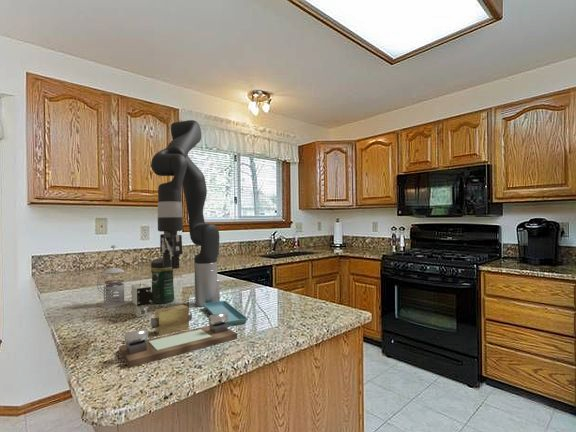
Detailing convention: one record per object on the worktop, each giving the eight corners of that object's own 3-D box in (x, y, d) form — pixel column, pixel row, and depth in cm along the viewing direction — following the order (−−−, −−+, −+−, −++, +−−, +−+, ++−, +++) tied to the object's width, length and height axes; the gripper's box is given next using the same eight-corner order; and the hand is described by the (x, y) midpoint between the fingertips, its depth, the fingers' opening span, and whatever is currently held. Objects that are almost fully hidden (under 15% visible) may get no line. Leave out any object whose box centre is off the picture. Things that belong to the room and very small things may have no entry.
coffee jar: (177, 301, 141) (176, 258, 141) (160, 305, 135) (160, 260, 135) (164, 298, 147) (164, 257, 147) (148, 301, 141) (147, 258, 141)
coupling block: (187, 324, 109) (187, 303, 109) (192, 328, 106) (192, 306, 106) (150, 333, 102) (149, 310, 102) (154, 337, 98) (153, 313, 98)
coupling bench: (219, 328, 105) (218, 307, 105) (237, 338, 96) (236, 316, 96) (119, 351, 87) (119, 327, 88) (129, 367, 78) (128, 340, 78)
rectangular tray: (248, 324, 110) (248, 317, 110) (221, 329, 106) (221, 321, 106) (225, 306, 133) (225, 300, 133) (203, 309, 129) (202, 303, 129)
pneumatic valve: (138, 320, 115) (138, 286, 115) (131, 313, 124) (130, 281, 124) (155, 317, 118) (154, 284, 118) (146, 310, 127) (146, 279, 127)
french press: (119, 307, 133) (118, 245, 133) (91, 307, 133) (90, 246, 134) (131, 301, 143) (130, 244, 143) (105, 301, 143) (104, 244, 143)
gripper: (189, 215, 101) (190, 268, 101) (174, 216, 112) (175, 263, 112) (165, 216, 96) (165, 271, 96) (151, 216, 108) (152, 266, 107)
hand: (170, 267), depth 104 cm, fingers open, 8 cm apart
